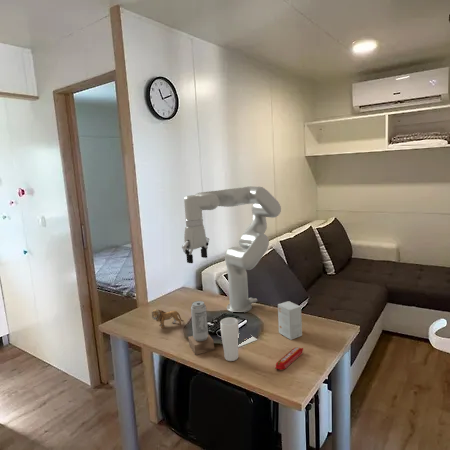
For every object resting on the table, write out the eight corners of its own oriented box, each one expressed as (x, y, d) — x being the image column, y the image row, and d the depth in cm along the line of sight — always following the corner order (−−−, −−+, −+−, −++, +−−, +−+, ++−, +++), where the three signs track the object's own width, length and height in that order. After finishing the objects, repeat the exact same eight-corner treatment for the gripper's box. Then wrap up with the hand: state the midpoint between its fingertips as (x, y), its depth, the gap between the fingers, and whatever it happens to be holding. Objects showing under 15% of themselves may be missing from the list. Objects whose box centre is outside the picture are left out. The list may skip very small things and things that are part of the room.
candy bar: (296, 350, 141) (295, 343, 140) (304, 353, 139) (304, 346, 138) (273, 370, 129) (273, 362, 128) (282, 373, 127) (282, 366, 126)
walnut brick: (207, 341, 152) (206, 332, 152) (214, 349, 145) (213, 340, 144) (189, 345, 149) (188, 336, 149) (195, 354, 142) (194, 345, 141)
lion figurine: (154, 331, 165) (152, 312, 163) (151, 326, 170) (149, 308, 168) (185, 324, 170) (183, 305, 168) (182, 319, 175) (180, 302, 173)
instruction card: (244, 332, 158) (244, 331, 158) (257, 339, 151) (257, 339, 151) (221, 340, 152) (221, 340, 152) (233, 349, 144) (233, 348, 144)
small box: (302, 335, 152) (301, 306, 149) (290, 340, 149) (289, 310, 146) (289, 328, 159) (289, 300, 156) (278, 332, 156) (277, 304, 153)
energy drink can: (205, 333, 151) (203, 299, 148) (210, 339, 145) (207, 304, 142) (191, 336, 149) (188, 302, 146) (195, 343, 143) (192, 307, 140)
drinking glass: (218, 358, 138) (216, 321, 136) (231, 351, 143) (229, 315, 140) (231, 365, 134) (229, 326, 131) (244, 357, 138) (241, 320, 136)
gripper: (200, 219, 171) (203, 254, 174) (174, 226, 158) (178, 264, 161) (213, 220, 167) (215, 256, 169) (187, 227, 153) (190, 266, 156)
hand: (197, 260), depth 165 cm, fingers open, 9 cm apart
